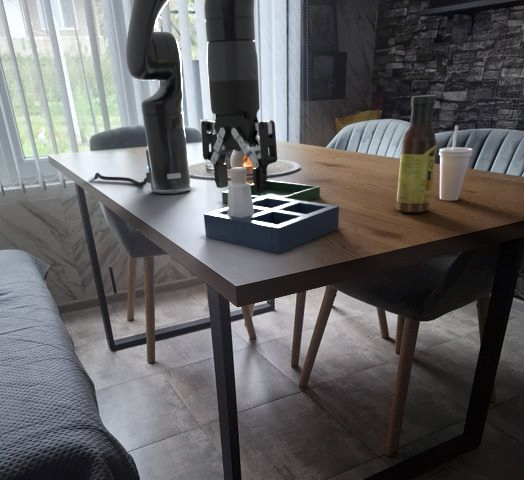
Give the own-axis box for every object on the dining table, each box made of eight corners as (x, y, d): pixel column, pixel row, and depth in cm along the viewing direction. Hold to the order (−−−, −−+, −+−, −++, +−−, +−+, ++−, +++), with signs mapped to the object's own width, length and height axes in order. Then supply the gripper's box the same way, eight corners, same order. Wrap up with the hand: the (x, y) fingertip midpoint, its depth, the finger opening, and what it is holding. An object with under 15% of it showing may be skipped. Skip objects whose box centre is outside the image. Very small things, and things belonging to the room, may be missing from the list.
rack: (205, 237, 84) (203, 213, 82) (267, 216, 95) (266, 195, 93) (279, 254, 74) (278, 228, 72) (338, 229, 85) (339, 205, 83)
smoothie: (428, 196, 104) (437, 125, 97) (457, 194, 104) (468, 123, 98) (440, 202, 98) (450, 127, 92) (470, 201, 99) (483, 126, 92)
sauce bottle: (430, 214, 91) (445, 95, 81) (396, 214, 92) (407, 97, 82) (427, 206, 96) (441, 94, 87) (394, 206, 98) (405, 95, 88)
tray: (222, 202, 107) (221, 191, 106) (267, 189, 117) (267, 180, 116) (276, 211, 98) (275, 199, 97) (319, 196, 108) (320, 186, 107)
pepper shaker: (263, 232, 85) (260, 166, 80) (248, 240, 81) (244, 171, 76) (236, 229, 87) (232, 164, 82) (220, 237, 83) (215, 170, 78)
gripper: (286, 75, 71) (288, 189, 79) (217, 79, 79) (225, 182, 87) (252, 76, 66) (257, 198, 74) (183, 80, 74) (195, 189, 82)
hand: (240, 189), depth 80 cm, fingers open, 8 cm apart
